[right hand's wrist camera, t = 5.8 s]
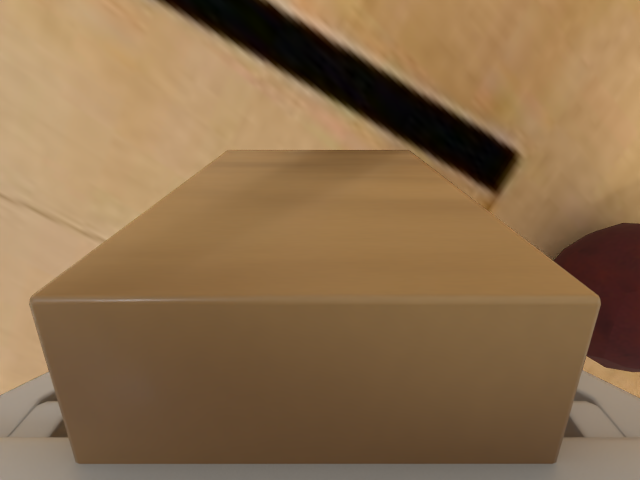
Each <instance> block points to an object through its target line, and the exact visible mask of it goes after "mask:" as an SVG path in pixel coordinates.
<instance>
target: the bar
mask: <svg viewBox="0 0 640 480" xmlns="http://www.w3.org/2000/svg"><path fill="white" fill-rule="evenodd" d="M29 305H30V308H31V312H32V315H33V319H34V322H35V325H36V329H37V332H38V336H39V339H40V343H41V346H42V349H43V353H44V356H45V360H46V363H47V366H48V370H49V373H50V377H51V380H52V383H53V387H54V390H55V394H56V397H57V401H58V404H59V407H60V411H61V414H62V418H63V421H64V424H65V428H66V431H67V435H68V438H69V441H70V445H71V448H72V452H73V455H74V459H75V462H76V463H78V464H553V463H556V461H557V458H558V454H559V451H560V447H561V444H562V440H563V436H564V433H565V429H566V426H567V422H568V419H569V415H570V412H571V408H572V405H573V401H574V398H575V394H576V391H577V387H578V383H579V380H580V376H581V373H582V369H583V366H584V362H585V359H586V355H587V352H588V348H589V345H590V341H591V338H592V334H593V330H594V327H595V323H596V320H597V316H598V313H599V309H600V306H601V301H600V298H599V296H598V295H597V294H596V293H594V292H593V291H592V290H590V289H589V288H588V287H587V286H585V285H584V284H583V283H581V282H580V281H579V280H577V279H576V278H575V277H574V276H572V275H571V274H570V273H568V272H567V271H566V270H564V269H563V268H562V267H560V266H559V265H558V264H557V263H555V262H554V261H553V260H551V259H550V258H549V257H547V256H546V255H545V254H544V253H542V252H541V251H540V250H538V249H537V248H536V247H534V246H533V245H532V244H531V243H529V242H528V241H527V240H525V239H524V238H523V237H521V236H520V235H519V234H517V233H516V232H515V231H514V230H512V229H511V228H510V227H508V226H507V225H506V224H504V223H503V222H502V221H501V220H499V219H498V218H497V217H495V216H494V215H493V214H491V213H490V212H489V211H487V210H486V209H485V208H484V207H482V206H481V205H480V204H478V203H477V202H476V201H474V200H473V199H472V198H471V197H469V196H468V195H467V194H465V193H464V192H463V191H461V190H460V189H459V188H458V187H456V186H455V185H454V184H452V183H451V182H450V181H448V180H447V179H446V178H444V177H443V176H442V175H441V174H439V173H438V172H437V171H435V170H434V169H433V168H431V167H430V166H429V165H428V164H426V163H425V162H424V161H422V160H421V159H420V158H418V157H417V156H416V155H415V154H413V153H412V152H411V151H409V150H228V151H226V152H225V153H223V154H222V155H221V156H219V157H218V158H217V159H215V160H214V161H213V162H211V163H210V164H209V165H207V166H206V167H205V168H203V169H202V170H201V171H199V172H198V173H196V174H195V175H194V176H192V177H191V178H190V179H188V180H187V181H186V182H184V183H183V184H182V185H180V186H179V187H178V188H176V189H175V190H174V191H172V192H171V193H170V194H168V195H167V196H166V197H164V198H163V199H161V200H160V201H159V202H157V203H156V204H155V205H153V206H152V207H151V208H149V209H148V210H147V211H145V212H144V213H143V214H141V215H140V216H139V217H137V218H136V219H135V220H133V221H132V222H131V223H129V224H128V225H126V226H125V227H124V228H122V229H121V230H120V231H118V232H117V233H116V234H114V235H113V236H112V237H110V238H109V239H108V240H106V241H105V242H104V243H102V244H101V245H100V246H98V247H97V248H96V249H94V250H93V251H91V252H90V253H89V254H87V255H86V256H85V257H83V258H82V259H81V260H79V261H78V262H77V263H75V264H74V265H73V266H71V267H70V268H69V269H67V270H66V271H65V272H63V273H62V274H60V275H59V276H58V277H56V278H55V279H54V280H52V281H51V282H50V283H48V284H47V285H46V286H44V287H43V288H42V289H40V290H39V291H38V292H36V293H35V294H34V295H32V296H31V298H30V303H29Z"/></svg>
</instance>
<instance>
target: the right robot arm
mask: <svg viewBox="0 0 640 480" xmlns="http://www.w3.org/2000/svg"><path fill="white" fill-rule="evenodd" d="M0 480H640V398H638V397H636V396H634V395H632V394H630V393H628V392H626V391H624V390H622V389H620V388H618V387H616V386H614V385H612V384H610V383H608V382H606V381H604V380H602V379H600V378H598V377H595V376H593V375H591V374H589V373H587V372H585V371H583V370H582V373H581V376H580V380H579V383H578V387H577V391H576V394H575V398H574V401H573V405H572V408H571V412H570V415H569V419H568V422H567V426H566V429H565V433H564V436H563V440H562V444H561V447H560V451H559V454H558V458H557V461H556V463H553V464H78V463H76V462H75V459H74V455H73V452H72V448H71V445H70V441H69V438H68V435H67V431H66V428H65V424H64V421H63V418H62V414H61V411H60V407H59V404H58V401H57V397H56V394H55V390H54V387H53V383H52V380H51V377H50V373H49V372H47V373H45V374H43V375H41V376H39V377H37V378H35V379H33V380H31V381H29V382H27V383H25V384H22V385H20V386H18V387H16V388H14V389H12V390H10V391H8V392H6V393H4V394H2V395H0Z"/></svg>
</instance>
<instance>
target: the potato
mask: <svg viewBox="0 0 640 480" xmlns="http://www.w3.org/2000/svg"><path fill="white" fill-rule="evenodd" d="M554 262H555V263H557V264H558V265H559V266H560V267H562V268H563V269H564V270H566V271H567V272H568V273H570V274H571V275H572V276H574V277H575V278H576V279H577V280H579V281H580V282H581V283H583V284H584V285H585V286H587V287H588V288H589V289H590V290H592V291H593V292H594V293H596V294H597V295H598V296H599V298H600V301H601V306H600V309H599V313H598V316H597V320H596V323H595V327H594V330H593V334H592V338H591V341H590V345H589V348H588V352H587V355H586V356H588V357H589V358H591V359H593V360H594V361H596V362H598V363H599V364H601V365H603V366H604V367H606V368H612V369H618V370H624V371H630V372H640V224H633V223H621V224H618V225H615V226H611V227H608V228H605V229H602V230H598V231H595V232H593V233H590V234H588V235H586V236H584V237H583V238H581V239H579V240H578V241H576V242H575V243H573V244H571V245H570V246H568V247H567V248H565V249H564V250H563V251H562V252H561V253H560V254H559V255H558V256H557V258H556V259H555V260H554Z"/></svg>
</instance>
